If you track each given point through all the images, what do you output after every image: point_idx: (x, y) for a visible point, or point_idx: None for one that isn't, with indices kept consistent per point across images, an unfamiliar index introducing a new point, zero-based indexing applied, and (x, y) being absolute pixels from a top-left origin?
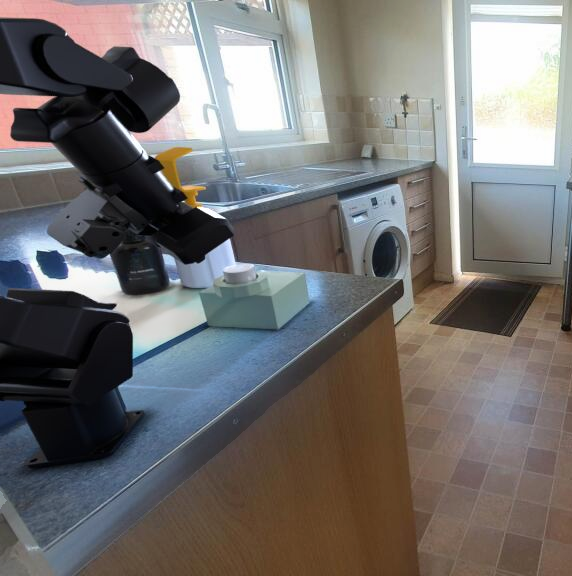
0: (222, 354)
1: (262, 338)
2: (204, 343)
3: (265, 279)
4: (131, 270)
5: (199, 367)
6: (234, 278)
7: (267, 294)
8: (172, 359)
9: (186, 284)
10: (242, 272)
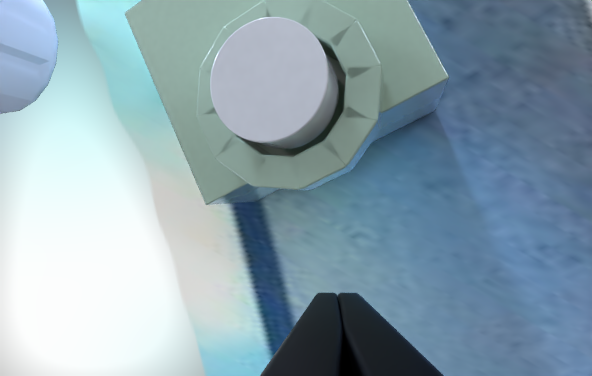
0: (436, 271)
1: (444, 165)
2: (337, 258)
3: (364, 32)
4: None
5: (451, 336)
6: (310, 130)
7: (422, 79)
8: None
9: (9, 111)
10: (325, 94)
